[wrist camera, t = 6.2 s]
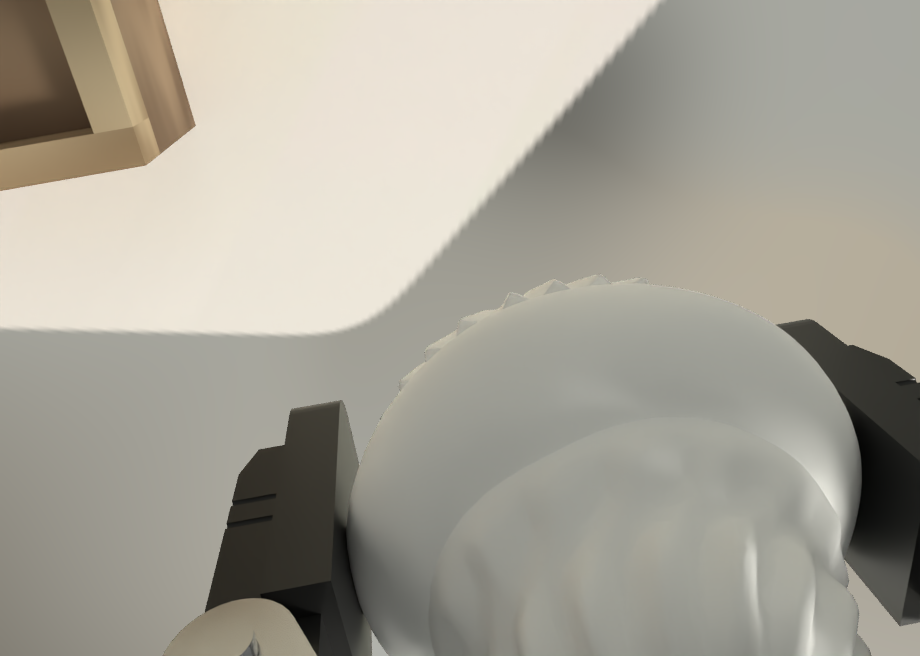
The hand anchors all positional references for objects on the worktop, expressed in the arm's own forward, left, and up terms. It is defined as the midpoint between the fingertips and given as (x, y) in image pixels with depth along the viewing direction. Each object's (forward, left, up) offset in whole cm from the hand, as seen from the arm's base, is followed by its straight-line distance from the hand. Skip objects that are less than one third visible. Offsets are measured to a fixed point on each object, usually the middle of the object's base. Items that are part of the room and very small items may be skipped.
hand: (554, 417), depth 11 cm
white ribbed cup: (0, 0, -1) cm, 1 cm away
